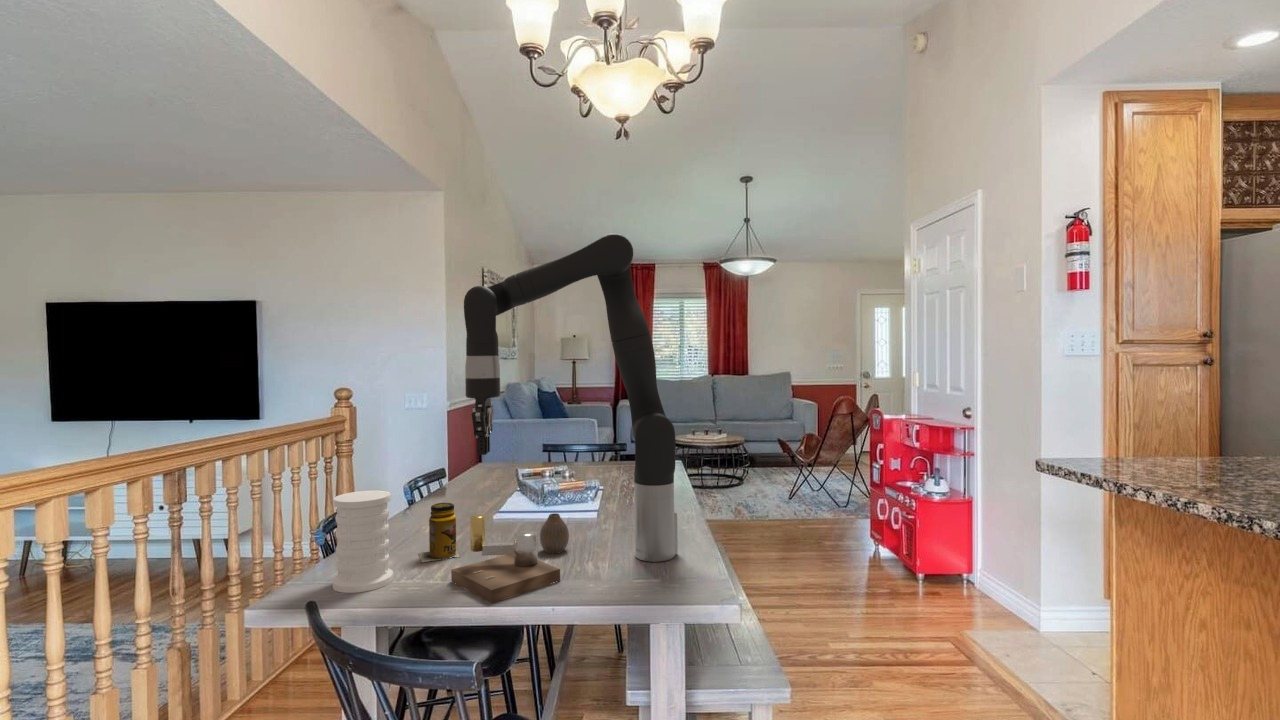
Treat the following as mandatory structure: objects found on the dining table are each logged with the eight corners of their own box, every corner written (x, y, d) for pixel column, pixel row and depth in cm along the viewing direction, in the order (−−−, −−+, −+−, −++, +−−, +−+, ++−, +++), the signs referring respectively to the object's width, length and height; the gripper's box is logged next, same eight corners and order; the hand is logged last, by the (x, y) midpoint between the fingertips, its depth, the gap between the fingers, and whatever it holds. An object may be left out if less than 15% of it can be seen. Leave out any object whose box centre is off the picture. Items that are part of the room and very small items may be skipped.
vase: (563, 556, 141) (563, 518, 141) (535, 554, 143) (535, 517, 143) (572, 547, 148) (572, 511, 148) (546, 545, 149) (545, 510, 149)
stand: (517, 562, 137) (517, 551, 137) (560, 580, 125) (560, 567, 125) (451, 581, 126) (451, 568, 126) (491, 603, 114) (491, 588, 114)
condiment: (460, 557, 141) (459, 506, 141) (421, 563, 138) (421, 510, 138) (455, 548, 148) (454, 499, 148) (418, 554, 144) (417, 503, 144)
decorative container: (359, 596, 118) (358, 504, 118) (319, 587, 123) (318, 499, 123) (405, 577, 129) (404, 492, 129) (366, 569, 134) (365, 488, 134)
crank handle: (538, 557, 132) (538, 511, 132) (536, 565, 127) (536, 517, 127) (473, 560, 131) (472, 513, 131) (468, 568, 126) (468, 519, 126)
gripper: (494, 377, 129) (495, 458, 129) (504, 375, 143) (505, 448, 143) (458, 377, 129) (459, 459, 129) (472, 375, 143) (472, 449, 143)
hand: (483, 453), depth 136 cm, fingers closed
